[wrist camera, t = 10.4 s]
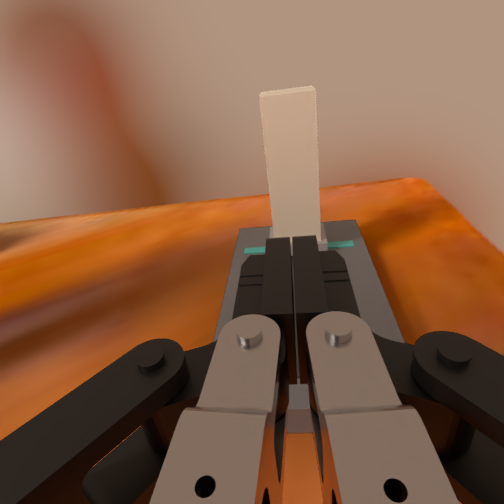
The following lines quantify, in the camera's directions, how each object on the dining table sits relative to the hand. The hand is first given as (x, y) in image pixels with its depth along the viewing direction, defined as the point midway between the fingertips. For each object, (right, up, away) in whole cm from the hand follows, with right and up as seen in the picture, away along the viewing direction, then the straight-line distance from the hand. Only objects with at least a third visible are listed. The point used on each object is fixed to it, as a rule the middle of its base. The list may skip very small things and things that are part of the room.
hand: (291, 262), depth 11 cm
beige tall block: (+3, +1, +22) cm, 22 cm away
